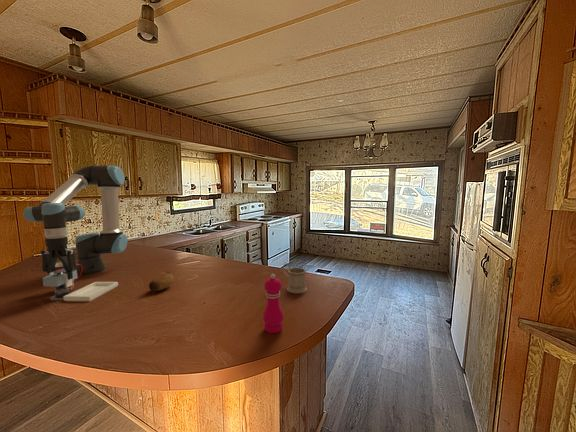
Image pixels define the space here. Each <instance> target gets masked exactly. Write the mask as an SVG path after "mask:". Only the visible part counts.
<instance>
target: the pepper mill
mask: <svg viewBox="0 0 576 432" xmlns="http://www.w3.org/2000/svg"><path fill="white" fill-rule="evenodd" d="M263 287H264V289H265V296H266V298H267V303H266V306H265V309H264V311H263V314H262V320H263V322H264V331H265V332H267V333H269V334H277V333H280V332H281V331H282V330H283V321H284V312H283V309H282V307H281V306H280V302H279V301H280V297H281V289H282V281H281V280H280V279H279V278H277V277H276V274H274V273H272V274H270V278H267V279H266V280H265V282H264V286H263Z"/></svg>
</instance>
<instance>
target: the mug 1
mask: <svg viewBox="0 0 576 432" xmlns="http://www.w3.org/2000/svg"><path fill="white" fill-rule="evenodd" d="M76 266H79V267H80V271H79V273H78V274H77V277H78V278H77V279H74V280H72V284H73V285H71V286H69V287H68V289H69V292H71V291H73V290H74V289H75V284H76V282H77V281H78V279H79V278H80V277H81V275H82V274H81V273H82V270H83V268H82V265H80V264H76ZM60 269H64V267H63V264H62V262H61V261H60V262H56V265H55V271H57V270H60ZM53 272H54V271H53ZM64 285H65V284H64ZM55 287H57V286H54V287H53V289H54V288H55ZM53 292H54V293H55V291H54V290H53Z"/></svg>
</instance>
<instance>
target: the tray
mask: <svg viewBox="0 0 576 432" xmlns="http://www.w3.org/2000/svg"><path fill="white" fill-rule="evenodd" d="M117 287H119V282H118V281H94V282H92V283H90V284H87V285H85V286H83V287H81V288H78V289H76V290H74V291H72V293H70V294H68V295H66V296H63V297H64V300H63V301H64V302H91V301H94V300H95V299H97V298H99V297H101V296H102V295H104V294H106V293H108V292H110V291H112V290H113V289H115V288H117Z"/></svg>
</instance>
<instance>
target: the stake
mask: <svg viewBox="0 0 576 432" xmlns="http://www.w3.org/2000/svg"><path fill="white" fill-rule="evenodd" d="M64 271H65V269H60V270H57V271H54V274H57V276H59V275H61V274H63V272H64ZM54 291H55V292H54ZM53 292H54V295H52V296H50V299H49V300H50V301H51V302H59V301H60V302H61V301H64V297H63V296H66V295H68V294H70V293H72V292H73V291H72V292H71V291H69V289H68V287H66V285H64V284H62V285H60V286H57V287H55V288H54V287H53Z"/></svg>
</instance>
